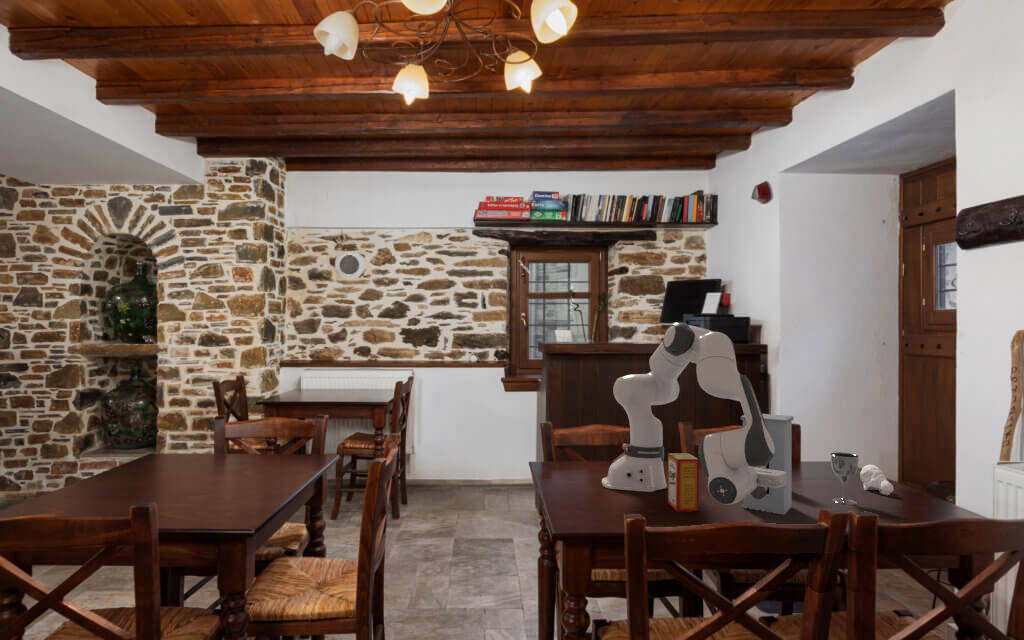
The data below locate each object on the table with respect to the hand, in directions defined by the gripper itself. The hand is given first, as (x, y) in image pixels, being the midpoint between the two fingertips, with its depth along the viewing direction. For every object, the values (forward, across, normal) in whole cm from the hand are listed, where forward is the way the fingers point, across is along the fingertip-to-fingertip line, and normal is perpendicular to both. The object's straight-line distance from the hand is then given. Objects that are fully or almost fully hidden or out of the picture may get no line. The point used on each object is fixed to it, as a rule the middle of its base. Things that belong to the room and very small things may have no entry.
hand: (753, 469), depth 179 cm
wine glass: (+38, -19, +14) cm, 44 cm away
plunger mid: (+9, 0, +2) cm, 9 cm away
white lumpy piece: (+58, -26, +15) cm, 65 cm away
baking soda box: (0, +21, +15) cm, 25 cm away
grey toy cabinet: (+15, 0, +14) cm, 21 cm away
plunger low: (+9, 0, +9) cm, 13 cm away
